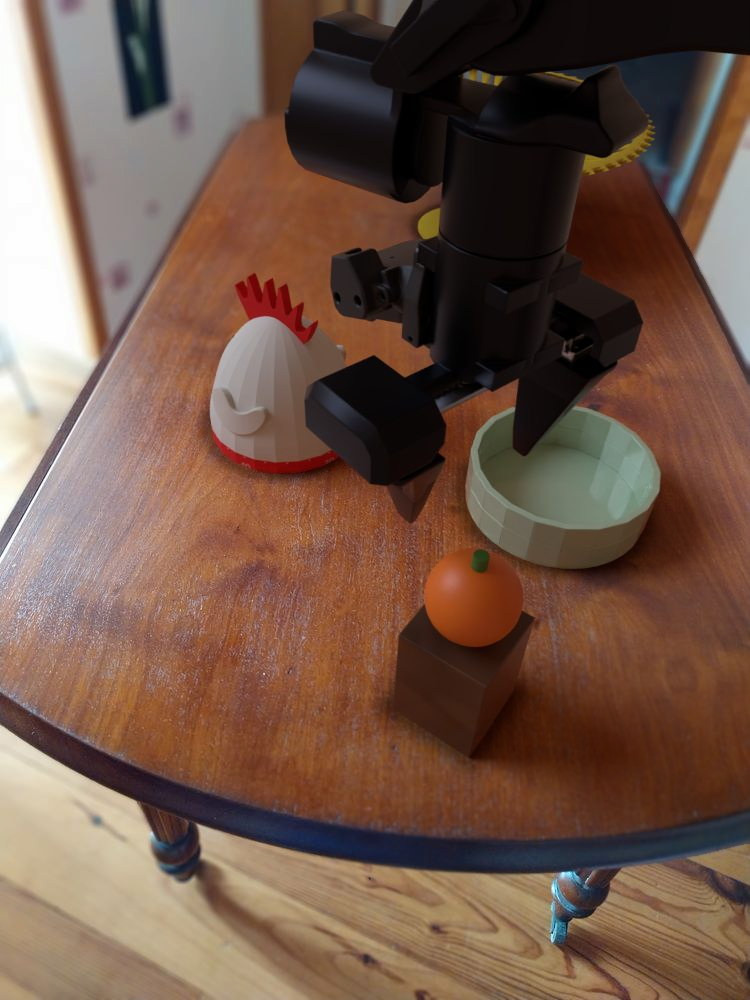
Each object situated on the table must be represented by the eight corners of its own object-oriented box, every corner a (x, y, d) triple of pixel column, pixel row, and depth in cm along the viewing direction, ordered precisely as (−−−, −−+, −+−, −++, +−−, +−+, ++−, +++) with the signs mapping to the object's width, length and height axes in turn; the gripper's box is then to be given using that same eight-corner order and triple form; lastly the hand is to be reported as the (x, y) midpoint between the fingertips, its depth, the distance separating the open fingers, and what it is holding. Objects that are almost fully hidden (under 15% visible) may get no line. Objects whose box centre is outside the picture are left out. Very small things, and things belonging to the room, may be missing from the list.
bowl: (669, 490, 66) (687, 448, 63) (598, 602, 57) (615, 560, 54) (516, 423, 72) (525, 381, 69) (431, 515, 63) (436, 472, 60)
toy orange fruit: (531, 617, 45) (552, 547, 41) (485, 683, 42) (502, 615, 37) (452, 574, 48) (463, 502, 43) (402, 633, 44) (409, 563, 40)
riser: (512, 693, 52) (535, 617, 45) (468, 760, 48) (486, 687, 42) (439, 649, 54) (451, 570, 48) (391, 710, 51) (398, 634, 44)
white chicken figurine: (277, 365, 78) (266, 227, 67) (387, 415, 73) (394, 274, 62) (181, 436, 70) (151, 291, 59) (297, 498, 64) (286, 351, 54)
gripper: (517, 131, 42) (483, 364, 53) (225, 220, 33) (258, 475, 44) (687, 200, 36) (608, 447, 47) (383, 330, 27) (375, 593, 38)
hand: (466, 483), depth 44 cm, fingers open, 9 cm apart
